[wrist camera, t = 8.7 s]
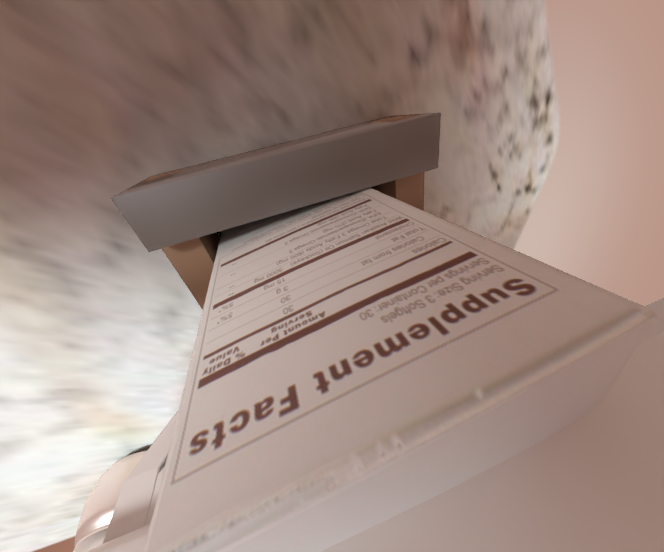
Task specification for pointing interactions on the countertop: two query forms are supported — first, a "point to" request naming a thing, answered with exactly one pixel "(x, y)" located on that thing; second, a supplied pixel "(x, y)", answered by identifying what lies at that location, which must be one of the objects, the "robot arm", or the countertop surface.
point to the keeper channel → (276, 187)
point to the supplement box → (371, 373)
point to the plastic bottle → (103, 503)
